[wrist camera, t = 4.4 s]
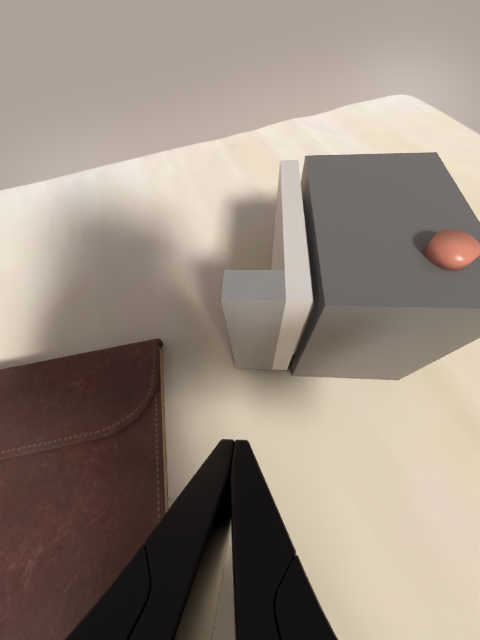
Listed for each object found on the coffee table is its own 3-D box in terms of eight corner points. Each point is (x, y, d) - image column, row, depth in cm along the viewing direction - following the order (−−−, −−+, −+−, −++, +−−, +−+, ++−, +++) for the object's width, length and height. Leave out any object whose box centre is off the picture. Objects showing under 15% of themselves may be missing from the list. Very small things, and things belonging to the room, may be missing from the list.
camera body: (398, 380, 16) (551, 299, 8) (290, 375, 17) (326, 296, 8) (365, 253, 22) (435, 126, 13) (285, 253, 22) (303, 131, 14)
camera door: (286, 370, 17) (312, 301, 9) (235, 368, 17) (220, 299, 9) (283, 263, 21) (298, 160, 14) (242, 263, 21) (236, 161, 14)
